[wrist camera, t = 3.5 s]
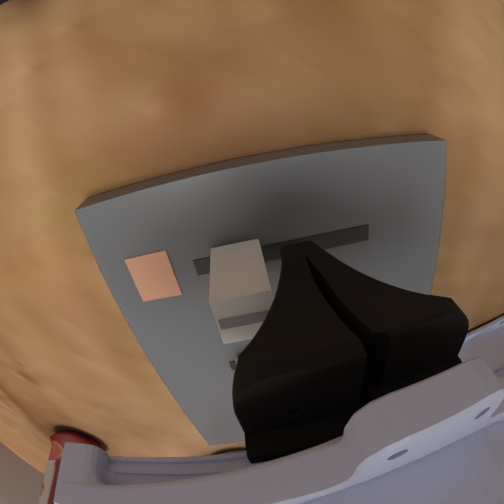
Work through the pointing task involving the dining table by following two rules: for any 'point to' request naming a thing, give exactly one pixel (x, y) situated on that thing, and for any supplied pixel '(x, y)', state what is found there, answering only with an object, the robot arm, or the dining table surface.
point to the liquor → (58, 462)
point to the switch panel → (271, 240)
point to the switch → (239, 290)
